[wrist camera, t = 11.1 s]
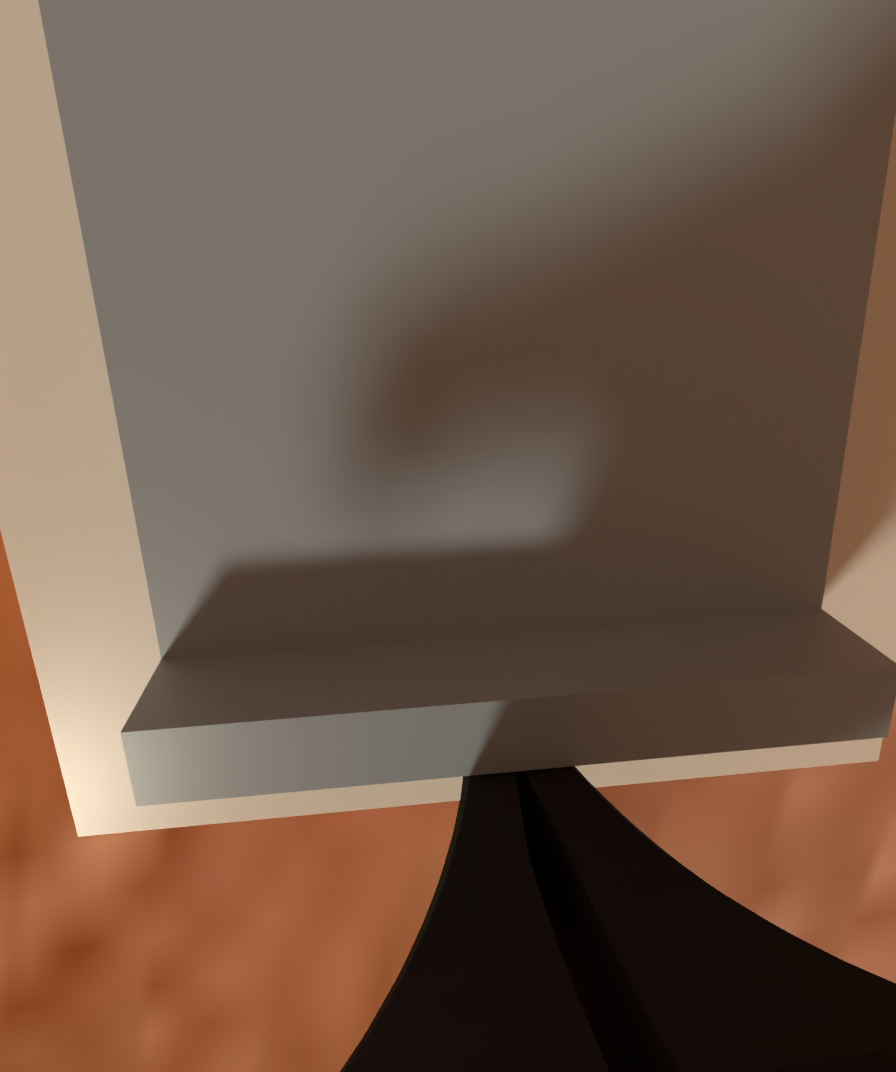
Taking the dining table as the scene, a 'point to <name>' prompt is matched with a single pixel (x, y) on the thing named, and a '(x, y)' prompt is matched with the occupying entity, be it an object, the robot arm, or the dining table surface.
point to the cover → (480, 373)
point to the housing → (110, 528)
